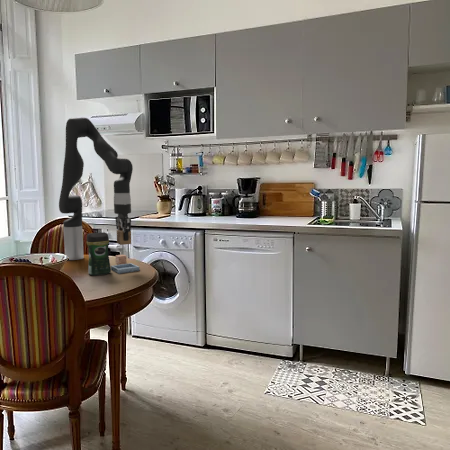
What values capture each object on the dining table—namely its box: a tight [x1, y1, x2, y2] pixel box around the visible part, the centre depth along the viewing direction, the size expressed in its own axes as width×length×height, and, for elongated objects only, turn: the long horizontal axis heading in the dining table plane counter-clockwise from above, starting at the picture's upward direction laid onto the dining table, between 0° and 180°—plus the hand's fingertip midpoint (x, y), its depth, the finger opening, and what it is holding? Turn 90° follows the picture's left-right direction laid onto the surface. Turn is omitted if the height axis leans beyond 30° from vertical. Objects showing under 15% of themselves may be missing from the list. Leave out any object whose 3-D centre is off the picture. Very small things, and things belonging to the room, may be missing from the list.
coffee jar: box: [86, 231, 112, 276], centre depth 191 cm, size 10×8×19 cm
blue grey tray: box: [110, 262, 141, 275], centre depth 199 cm, size 10×10×2 cm
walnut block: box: [116, 229, 132, 246], centre depth 197 cm, size 5×5×6 cm
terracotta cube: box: [115, 254, 128, 265], centre depth 214 cm, size 4×4×4 cm
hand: (123, 239), depth 197 cm, fingers closed on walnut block, 5 cm apart
